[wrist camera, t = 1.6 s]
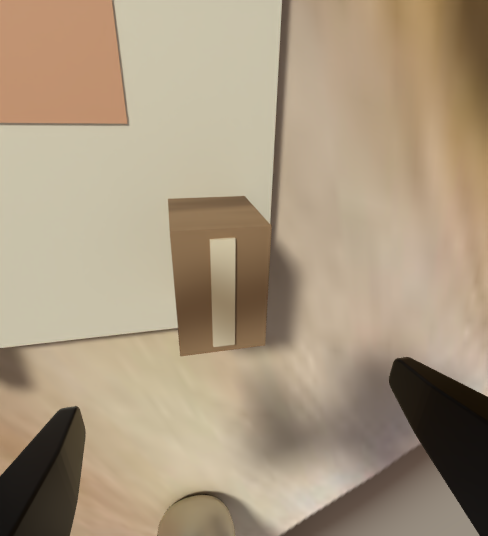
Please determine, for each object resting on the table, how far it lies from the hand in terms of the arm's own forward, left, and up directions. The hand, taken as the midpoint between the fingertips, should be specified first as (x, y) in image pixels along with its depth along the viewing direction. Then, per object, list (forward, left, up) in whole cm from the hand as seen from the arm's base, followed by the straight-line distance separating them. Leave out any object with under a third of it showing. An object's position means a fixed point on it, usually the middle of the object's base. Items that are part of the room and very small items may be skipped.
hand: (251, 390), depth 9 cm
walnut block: (0, 0, -10) cm, 11 cm away
